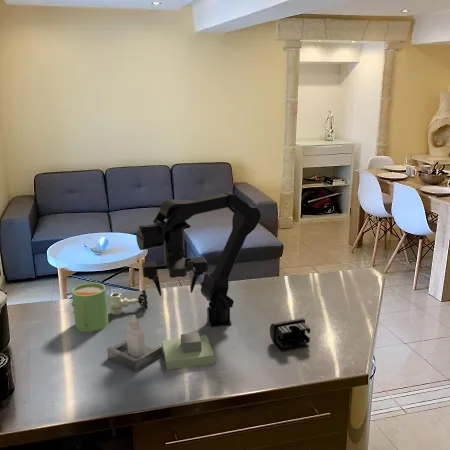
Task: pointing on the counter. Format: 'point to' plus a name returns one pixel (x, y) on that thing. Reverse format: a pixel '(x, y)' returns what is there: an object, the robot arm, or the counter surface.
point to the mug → (90, 307)
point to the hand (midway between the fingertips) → (175, 293)
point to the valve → (125, 302)
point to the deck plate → (186, 358)
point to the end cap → (290, 334)
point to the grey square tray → (125, 359)
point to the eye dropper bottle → (135, 338)
